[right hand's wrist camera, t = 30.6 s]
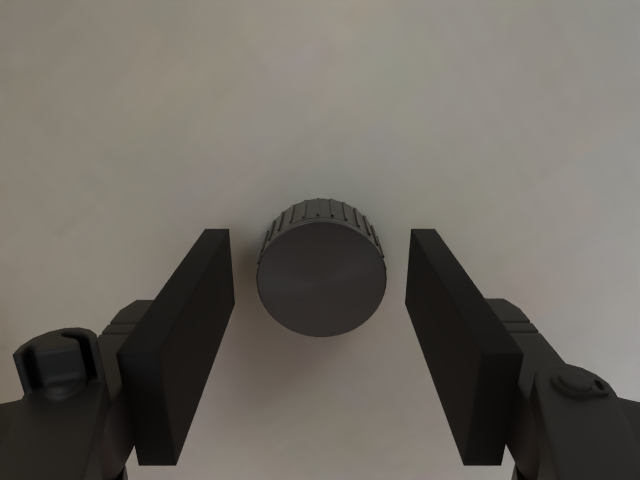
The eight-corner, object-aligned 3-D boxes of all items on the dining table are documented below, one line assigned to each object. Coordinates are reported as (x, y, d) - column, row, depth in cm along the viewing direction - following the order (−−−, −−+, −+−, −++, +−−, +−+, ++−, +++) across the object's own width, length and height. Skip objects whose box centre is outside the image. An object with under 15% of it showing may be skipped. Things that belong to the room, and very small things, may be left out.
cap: (239, 246, 16) (226, 275, 13) (328, 172, 15) (329, 190, 12) (315, 322, 17) (314, 360, 15) (401, 258, 16) (415, 288, 14)
